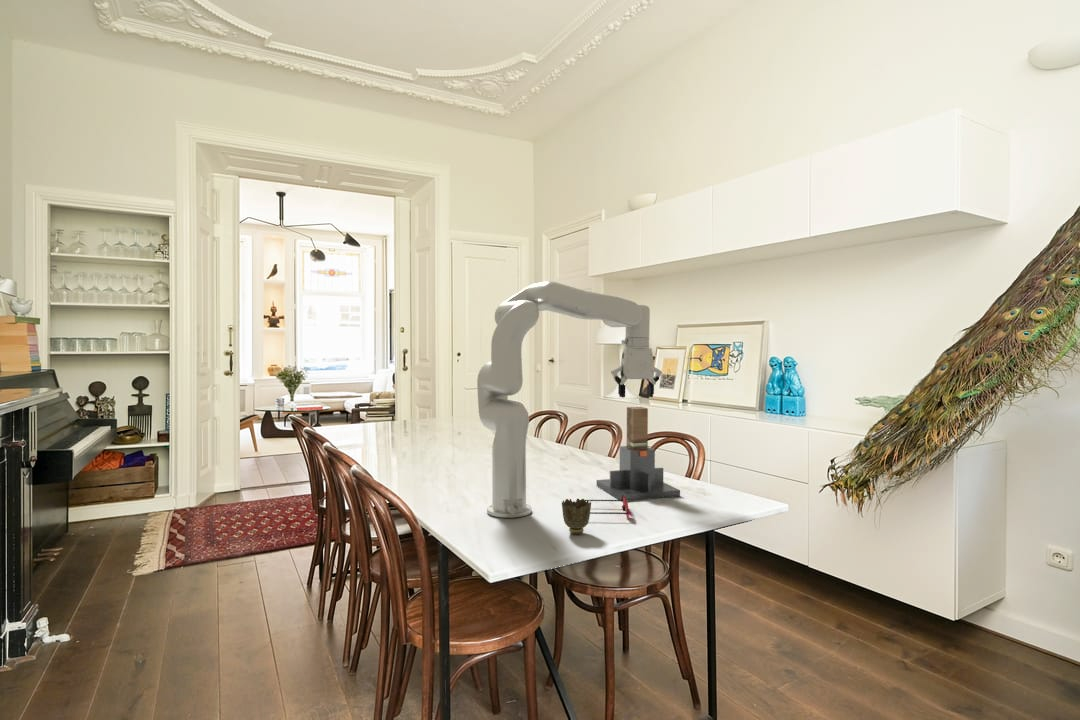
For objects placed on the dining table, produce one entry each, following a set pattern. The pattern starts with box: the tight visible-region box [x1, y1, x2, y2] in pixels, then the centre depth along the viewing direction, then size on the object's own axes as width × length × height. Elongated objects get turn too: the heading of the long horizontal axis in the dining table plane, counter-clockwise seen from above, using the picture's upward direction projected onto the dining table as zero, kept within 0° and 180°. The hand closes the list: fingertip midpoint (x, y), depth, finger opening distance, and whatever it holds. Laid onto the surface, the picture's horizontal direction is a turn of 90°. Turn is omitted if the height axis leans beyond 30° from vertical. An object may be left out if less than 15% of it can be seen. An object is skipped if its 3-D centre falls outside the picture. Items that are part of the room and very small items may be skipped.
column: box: [626, 406, 649, 450], centre depth 193 cm, size 5×5×19 cm
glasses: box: [584, 494, 633, 520], centre depth 168 cm, size 14×16×5 cm
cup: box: [561, 498, 592, 536], centre depth 151 cm, size 8×7×8 cm
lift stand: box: [596, 445, 681, 502], centre depth 194 cm, size 20×20×14 cm
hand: (636, 397), depth 193 cm, fingers open, 9 cm apart
